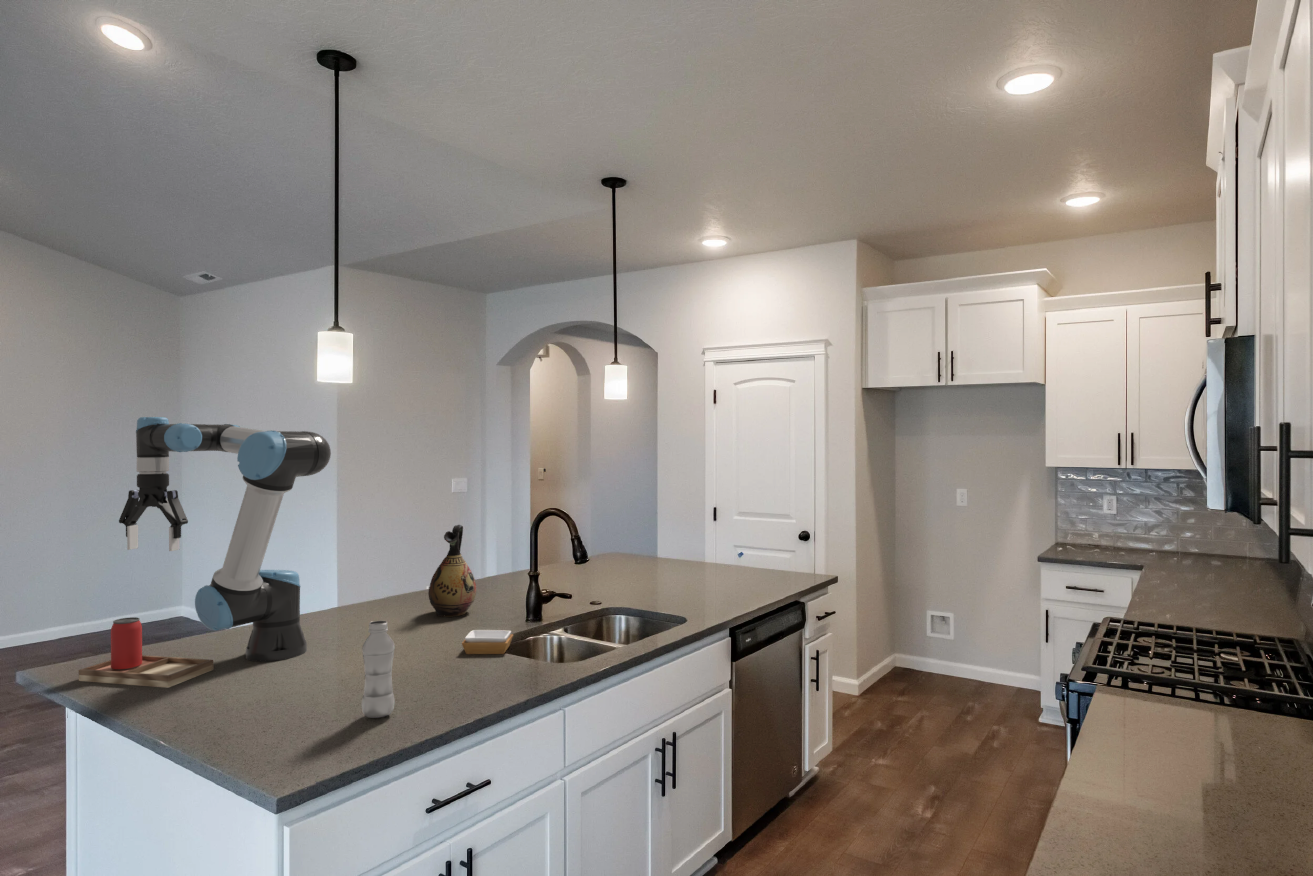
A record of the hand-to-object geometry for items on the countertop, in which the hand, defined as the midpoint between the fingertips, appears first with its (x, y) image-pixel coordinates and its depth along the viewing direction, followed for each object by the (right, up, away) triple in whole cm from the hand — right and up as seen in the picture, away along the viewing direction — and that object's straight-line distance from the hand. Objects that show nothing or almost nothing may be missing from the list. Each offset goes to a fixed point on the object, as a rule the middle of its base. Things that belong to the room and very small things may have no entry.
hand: (153, 549), depth 214 cm
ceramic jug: (+71, -29, +45) cm, 89 cm away
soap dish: (+92, -29, +2) cm, 97 cm away
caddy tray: (+11, -29, -20) cm, 37 cm away
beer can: (+5, -27, -18) cm, 33 cm away
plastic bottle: (+80, -29, -49) cm, 98 cm away
